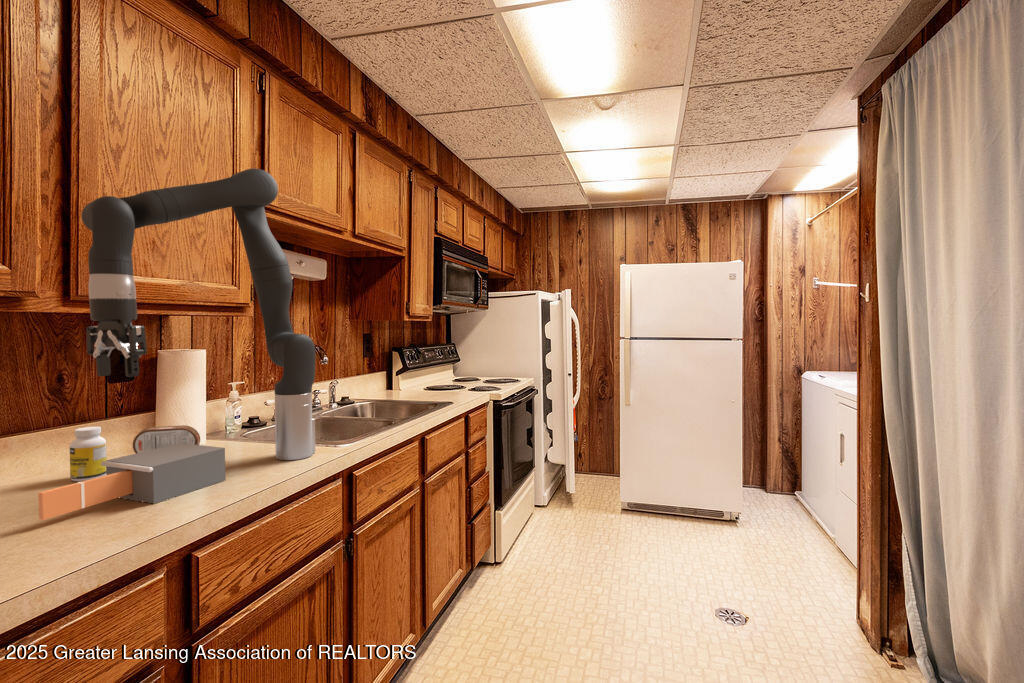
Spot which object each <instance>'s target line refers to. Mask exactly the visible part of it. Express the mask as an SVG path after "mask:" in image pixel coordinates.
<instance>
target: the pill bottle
mask: <svg viewBox="0 0 1024 683" xmlns="http://www.w3.org/2000/svg"><path fill="white" fill-rule="evenodd" d="M100 434H102V427H101V426H84V427H79V428H76V429H74V437H75V439H73V441H71V442H70V444H69V475H70V476H69V477H70V480H71V481H73V482H82V481H86V480H90V479H94V478H98V477H102V476H106V466H101V462H102V461H106V460H108V459H107V440H106V439H105V438H104V437H103V436H101V435H100Z"/></svg>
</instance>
